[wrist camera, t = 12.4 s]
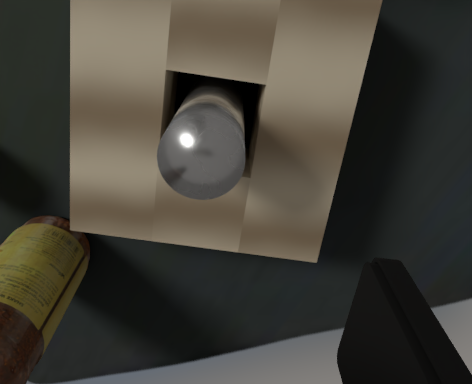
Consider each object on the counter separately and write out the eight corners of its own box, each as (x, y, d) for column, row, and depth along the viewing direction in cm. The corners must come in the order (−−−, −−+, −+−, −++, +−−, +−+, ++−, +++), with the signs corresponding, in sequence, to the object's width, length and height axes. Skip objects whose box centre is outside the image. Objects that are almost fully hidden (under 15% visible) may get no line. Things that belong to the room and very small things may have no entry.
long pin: (189, 71, 30) (160, 109, 19) (247, 80, 30) (251, 122, 19) (183, 128, 32) (153, 193, 21) (238, 136, 32) (238, 205, 21)
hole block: (104, -41, 28) (70, -53, 22) (355, 0, 28) (382, -2, 23) (97, 193, 34) (70, 230, 28) (304, 221, 35) (316, 262, 29)
